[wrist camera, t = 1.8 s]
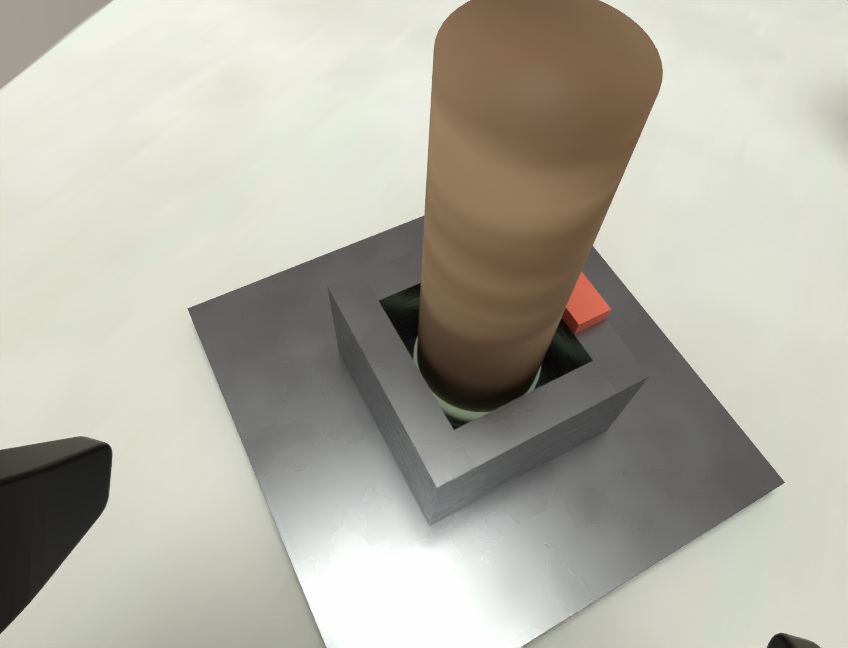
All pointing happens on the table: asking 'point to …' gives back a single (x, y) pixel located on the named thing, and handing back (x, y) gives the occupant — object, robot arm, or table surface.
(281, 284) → the stand
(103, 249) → the table surface
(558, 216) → the post
